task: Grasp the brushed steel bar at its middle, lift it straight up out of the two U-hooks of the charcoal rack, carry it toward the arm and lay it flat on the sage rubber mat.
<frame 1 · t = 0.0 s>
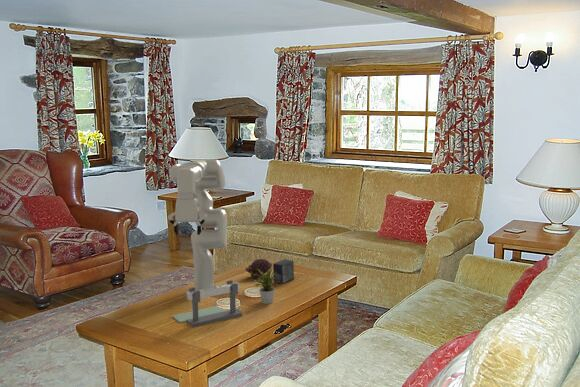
hand: (188, 234, 267), 37 cm above the table, tool pointing down, fingers open, 9 cm apart
small box: (283, 281, 320), on the table
hook rack: (214, 319, 267), on the table
pine cone: (260, 277, 328), on the table
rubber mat: (206, 313, 275), on the table
house plant: (266, 301, 290), on the table
steel rail: (213, 294, 265), point 11 cm above the table, touching hook rack
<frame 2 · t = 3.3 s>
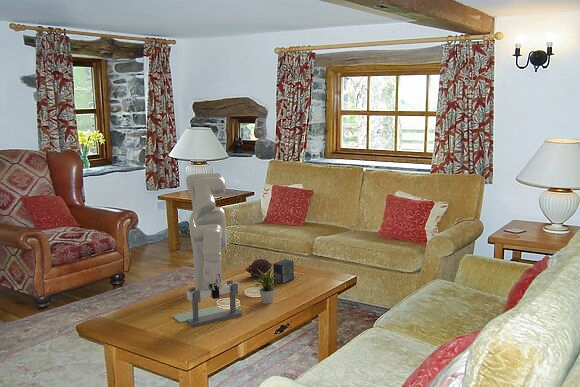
hand: (214, 296, 265), 10 cm above the table, tool pointing down, fingers closed on steel rail, 3 cm apart
steel rail: (213, 294, 265), point 12 cm above the table, touching gripper, hook rack
everything else where it was.
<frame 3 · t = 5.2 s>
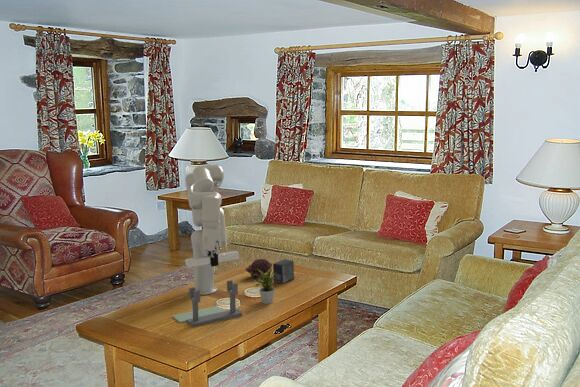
hand: (212, 264, 263), 25 cm above the table, tool pointing down, fingers closed on steel rail, 3 cm apart
steel rail: (212, 262, 263), point 26 cm above the table, touching gripper
everything else where it was.
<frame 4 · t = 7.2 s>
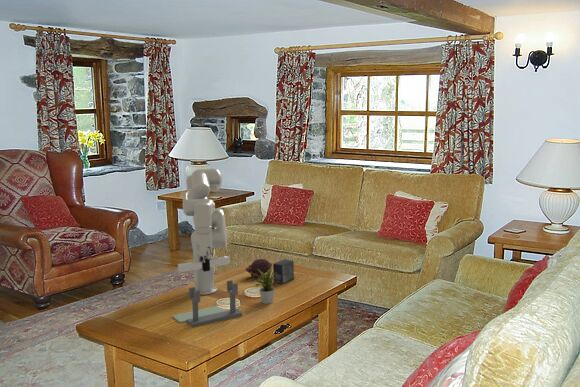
hand: (204, 269, 271), 21 cm above the table, tool pointing down, fingers closed on steel rail, 3 cm apart
steel rail: (204, 267, 271), point 22 cm above the table, touching gripper
everything else where it was.
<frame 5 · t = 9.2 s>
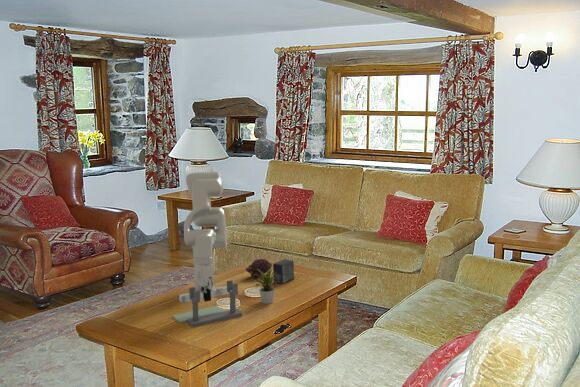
hand: (205, 299, 273), 7 cm above the table, tool pointing down, fingers closed on steel rail, 3 cm apart
steel rail: (205, 297, 273), point 8 cm above the table, touching gripper
everything else where it was.
when the fingers open (1 cm above the table, at t = 11.1 s): steel rail drops 2 cm, resting on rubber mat.
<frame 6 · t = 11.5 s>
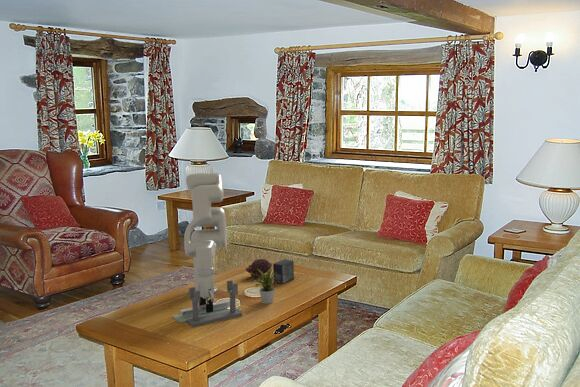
hand: (206, 309, 274), 2 cm above the table, tool pointing down, fingers open, 7 cm apart
steel rail: (206, 311, 275), point 1 cm above the table, touching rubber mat
everything else where it was.
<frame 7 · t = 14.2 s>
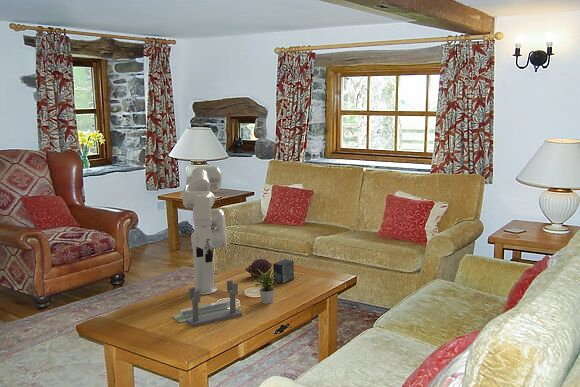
hand: (204, 259, 271), 25 cm above the table, tool pointing down, fingers open, 9 cm apart
nothing on the table moved.
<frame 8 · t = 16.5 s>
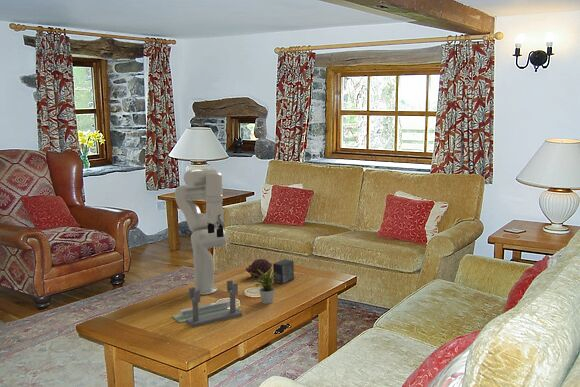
hand: (215, 234, 282), 33 cm above the table, tool pointing down, fingers open, 9 cm apart
nothing on the table moved.
at the end: steel rail inside the target area on the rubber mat (0.1 cm from its centre), point 0.6 cm above the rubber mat's base; steel rail touching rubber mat; the gripper is holding nothing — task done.
